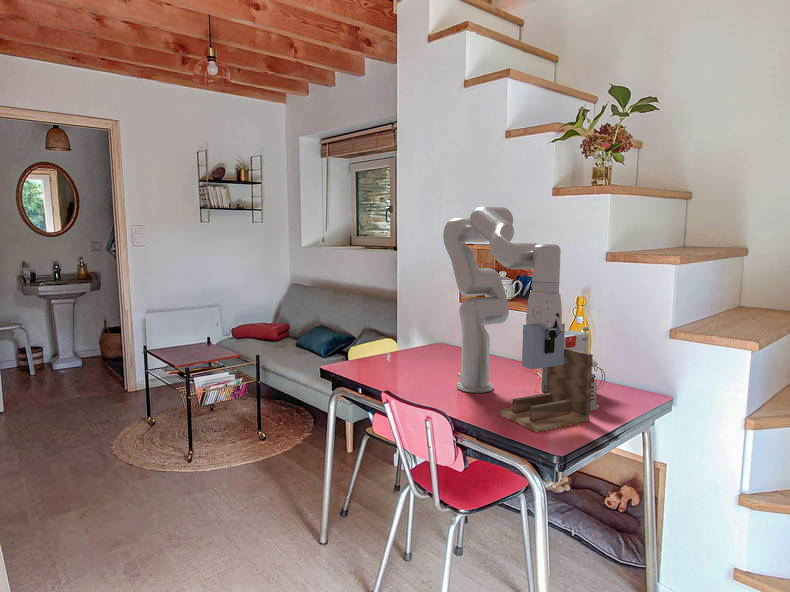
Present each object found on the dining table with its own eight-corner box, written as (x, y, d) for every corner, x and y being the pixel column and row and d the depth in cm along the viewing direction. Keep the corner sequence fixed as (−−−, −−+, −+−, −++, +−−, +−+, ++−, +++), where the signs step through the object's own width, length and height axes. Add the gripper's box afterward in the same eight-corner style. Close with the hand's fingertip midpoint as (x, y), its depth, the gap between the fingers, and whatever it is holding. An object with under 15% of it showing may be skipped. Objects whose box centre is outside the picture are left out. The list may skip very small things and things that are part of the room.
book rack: (499, 414, 159) (500, 350, 157) (549, 405, 168) (552, 344, 166) (536, 432, 145) (538, 362, 142) (589, 420, 154) (592, 354, 152)
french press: (561, 400, 172) (563, 324, 169) (595, 399, 174) (598, 323, 171) (574, 410, 163) (577, 329, 160) (610, 409, 164) (614, 329, 161)
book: (521, 366, 153) (523, 324, 152) (553, 361, 158) (554, 321, 157) (531, 369, 149) (532, 327, 148) (563, 364, 155) (564, 323, 154)
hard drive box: (559, 397, 176) (561, 337, 174) (540, 391, 183) (542, 334, 180) (587, 389, 186) (589, 332, 183) (568, 384, 192) (570, 329, 189)
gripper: (515, 286, 157) (514, 347, 159) (557, 291, 142) (554, 358, 144) (535, 285, 161) (533, 344, 163) (577, 290, 146) (575, 355, 148)
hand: (543, 350), depth 153 cm, fingers closed on book, 4 cm apart
